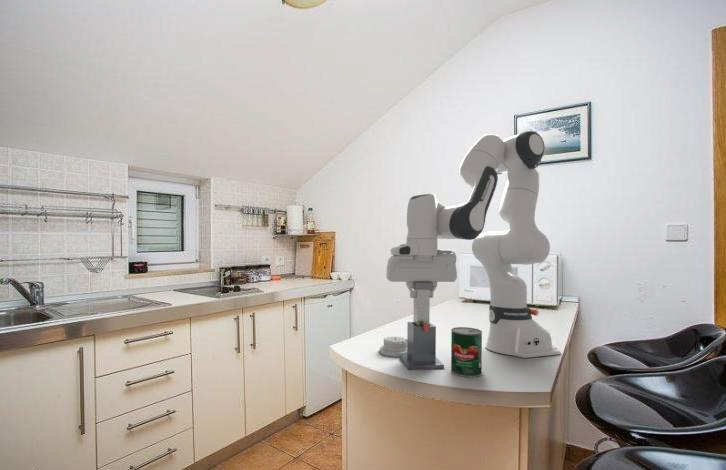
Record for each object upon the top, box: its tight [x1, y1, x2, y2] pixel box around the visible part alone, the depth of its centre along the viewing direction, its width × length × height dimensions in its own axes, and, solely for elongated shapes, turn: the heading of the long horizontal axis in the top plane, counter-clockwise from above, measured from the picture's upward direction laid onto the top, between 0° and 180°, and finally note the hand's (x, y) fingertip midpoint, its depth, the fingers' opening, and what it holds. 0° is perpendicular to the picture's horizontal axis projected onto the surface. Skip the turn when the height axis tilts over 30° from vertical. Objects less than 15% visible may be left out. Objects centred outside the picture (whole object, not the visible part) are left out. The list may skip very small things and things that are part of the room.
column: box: [411, 282, 433, 326], centre depth 100 cm, size 5×5×17 cm
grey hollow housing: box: [399, 321, 445, 371], centre depth 100 cm, size 10×10×12 cm
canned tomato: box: [450, 326, 483, 378], centre depth 93 cm, size 8×8×11 cm
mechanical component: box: [379, 335, 407, 358], centre depth 110 cm, size 10×4×10 cm
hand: (421, 297), depth 100 cm, fingers closed on column, 4 cm apart
